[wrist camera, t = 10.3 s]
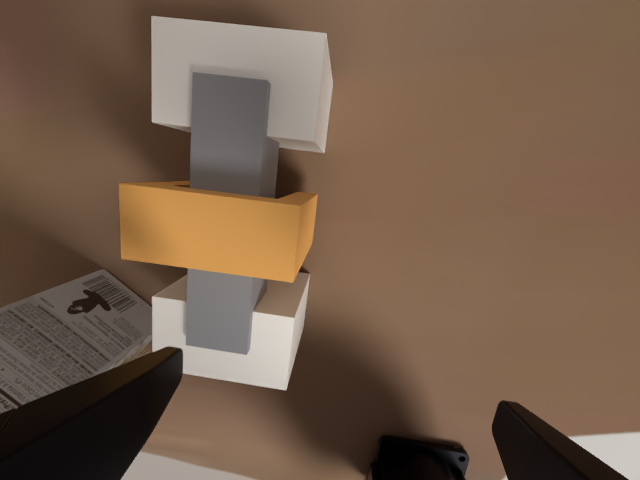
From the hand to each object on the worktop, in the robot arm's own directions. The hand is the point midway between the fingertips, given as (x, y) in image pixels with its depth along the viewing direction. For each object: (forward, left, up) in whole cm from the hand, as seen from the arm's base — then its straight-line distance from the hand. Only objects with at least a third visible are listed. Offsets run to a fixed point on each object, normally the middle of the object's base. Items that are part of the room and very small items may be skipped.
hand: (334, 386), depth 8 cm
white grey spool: (+5, -3, -12) cm, 14 cm away
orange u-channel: (+5, -3, -10) cm, 12 cm away
